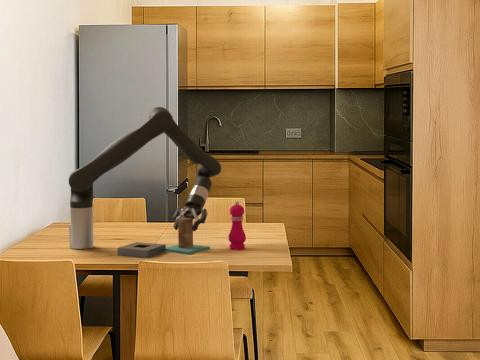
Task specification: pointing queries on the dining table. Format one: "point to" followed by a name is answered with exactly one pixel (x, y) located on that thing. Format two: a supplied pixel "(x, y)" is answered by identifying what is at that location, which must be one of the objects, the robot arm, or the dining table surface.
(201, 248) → the teal mat
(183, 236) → the walnut peg
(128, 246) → the socket block
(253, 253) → the dining table surface
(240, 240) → the pepper mill
